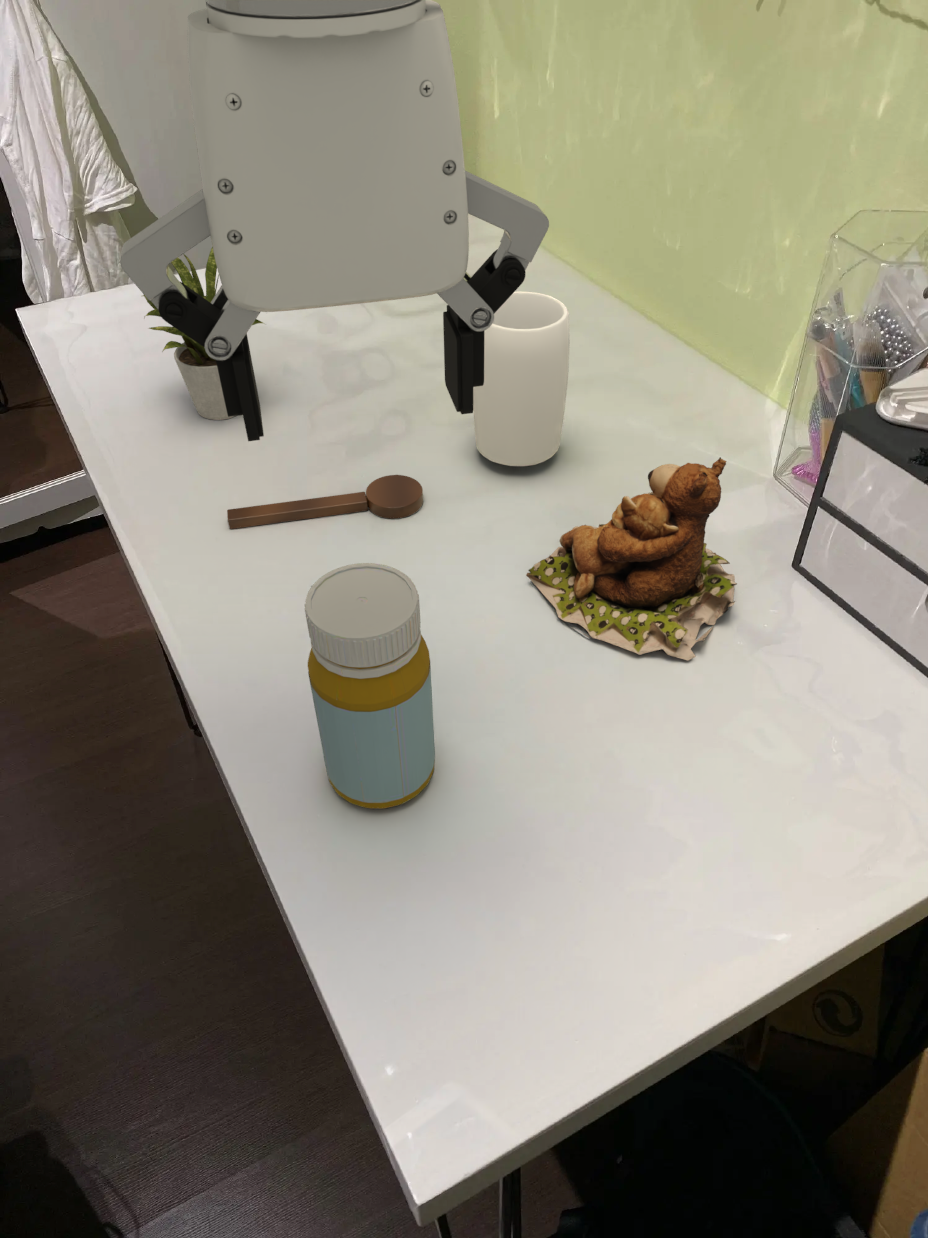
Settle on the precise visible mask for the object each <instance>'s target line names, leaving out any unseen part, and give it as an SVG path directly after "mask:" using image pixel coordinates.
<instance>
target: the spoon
mask: <svg viewBox="0 0 928 1238" xmlns="http://www.w3.org/2000/svg"><path fill="white" fill-rule="evenodd" d="M368 484H369V485H367V487H366V489H365V491H359V492H351V493H343V494H335V495H329V496H320V497H313V498H307V499H306V498H305V499H299V500H289V501H283V502H276V503H268V504H261V505H259V504H258V505H253V506H252V505H251V506H245V507H237V508H229V509H226V515H227V524H228V528H229V530H234V529H242V528H248V527H249V528H251V527H256V526H257V527H258V526H263V525H272V524H278V523H279V524H280V523H286V522H294V521H302V520H308V519H316V518H323V517H330V516H338V515H346V514H355V513H360V512H361V513H362V512H367V511H370V512H371V513H372V514H374V515H375V516H377V517H380V518H383V519H391V520H394V519H404V518H407V517H410V516H412V515H415V514H416V513H417V512H418V511H419V510H420V509H421V508H422V506H423V504H424V490H423V486H422V485H421V483H420V482H419V481H418V480H417V479H415V478H414V477H411V476H408V475H403V474H390V475H384V476H381V477H378V478H376V479H374V480H373V481H371V482H370V483H368Z"/></svg>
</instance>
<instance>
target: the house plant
mask: <svg viewBox="0 0 928 1238" xmlns="http://www.w3.org/2000/svg"><path fill="white" fill-rule="evenodd" d="M182 255H183V256H184V257H185V259H186V261H187V263H188V265H189V267H190V268H188V267H187V265H186V264H185V263H184V262H183V260H182V259H181V258H180V257H178V258H176V259H175V260H173V261H172V262H171V263H170V264H172V266H173V268H175V271H176V273H177V274H178V276H179V279H180V280H181V281H180V282H182V283H183V284H185V285H186V286H188V287H189V288H190V289H192V290H193V291H195V292H196V293H197V294H199V295H200V296H202V297H203V298H205V299H206V300H207V301H209V302H210V303H211V301H212V300H213V298H214V297H215V295H216V293H217V288H218V283H219V279H220V276H219V274H217V272H218V269H217V265H216V261H215V256H214V252H213V247H212V246H211V248H210V251H209V254H208V257H207V261H206V266H205V272H204V277H205V292H204V289H203V286H202V283H201V281H200V277H199V275H198V272H197V270H196V268H195V266H194V264H193V263H192V262H193V261H191V259H190V258H189V257H188V255H186V254H185V253H184V254H182ZM189 269H190V270H189ZM216 278H217V279H216ZM142 294H143V293H142ZM142 297H144V299H145V300H146V302H147V304H149V306H151V308H152V310H150V311H148V312H147V313H146V314H145V315H144V316H143V317H144V318H143V319H144V320H145V318H146V317H149V316H151V317H152V316H153V317H159V318H162V317H161V316H160V314H159V310H158V309H157V308H156V307H155V305H154V304H153V303H152V302H151V301H149V300H148V299H147V298H146V296H145V295H144V294H143V295H142ZM258 324H264V325H266V323H264V322H263V321H261V320H259V319H257V318H256V320H255V321H254V323H253V324H252V326H254V325H258ZM148 329H149V330H153V331H159V332H161V331H162V332H166V333H167V334H168V333H169V334H172V335H176V336H180V337H181V338H182V340H183V342H182V343H181V342H178V341H175V340H170V341H168V342H167V343H166V344H165V346H164V347H163V349H162V351H161V353H163V352H164V351H166V350H168V349H174V348H175V350H174V351H173V359H174V361H175V363H176V365H177V367H178V370H179V372H180V374H181V377H182V379H183V381H184V384H185V387H186V389H187V391H188V393H189V395H190V398H191V400H192V403H193V405H194V407H195V409H196V412H197V413H198V415H199V416H200V417H202V418H204V419H206V420H212V421H213V420H214V421H223V420H230V419H232V418H235V417H236V416H231V417H228V414H227V410H226V405H225V401H224V396H223V391H222V387H221V382H220V377H219V373H218V368H217V363H216V360H215V359H212V358H211V357H210V356H208V354H207V353H206V351H205V347H203V346H202V345H200V344H199V343H197V342H196V341H194V340H193V339H191V338H190V337H188V336H187V335H185V334H184V333H182V332H181V331H179V330H178V329H176V328H175V327H173V326H167V325H165V326H164V325H161V326H152V327H148Z"/></svg>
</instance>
